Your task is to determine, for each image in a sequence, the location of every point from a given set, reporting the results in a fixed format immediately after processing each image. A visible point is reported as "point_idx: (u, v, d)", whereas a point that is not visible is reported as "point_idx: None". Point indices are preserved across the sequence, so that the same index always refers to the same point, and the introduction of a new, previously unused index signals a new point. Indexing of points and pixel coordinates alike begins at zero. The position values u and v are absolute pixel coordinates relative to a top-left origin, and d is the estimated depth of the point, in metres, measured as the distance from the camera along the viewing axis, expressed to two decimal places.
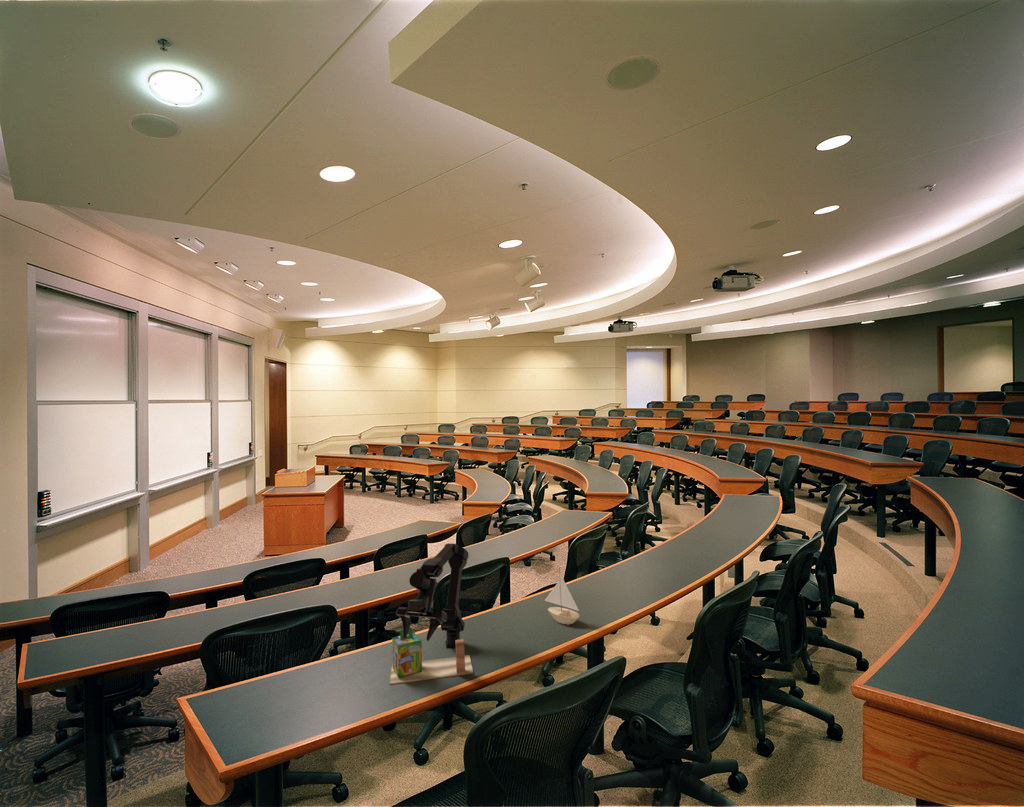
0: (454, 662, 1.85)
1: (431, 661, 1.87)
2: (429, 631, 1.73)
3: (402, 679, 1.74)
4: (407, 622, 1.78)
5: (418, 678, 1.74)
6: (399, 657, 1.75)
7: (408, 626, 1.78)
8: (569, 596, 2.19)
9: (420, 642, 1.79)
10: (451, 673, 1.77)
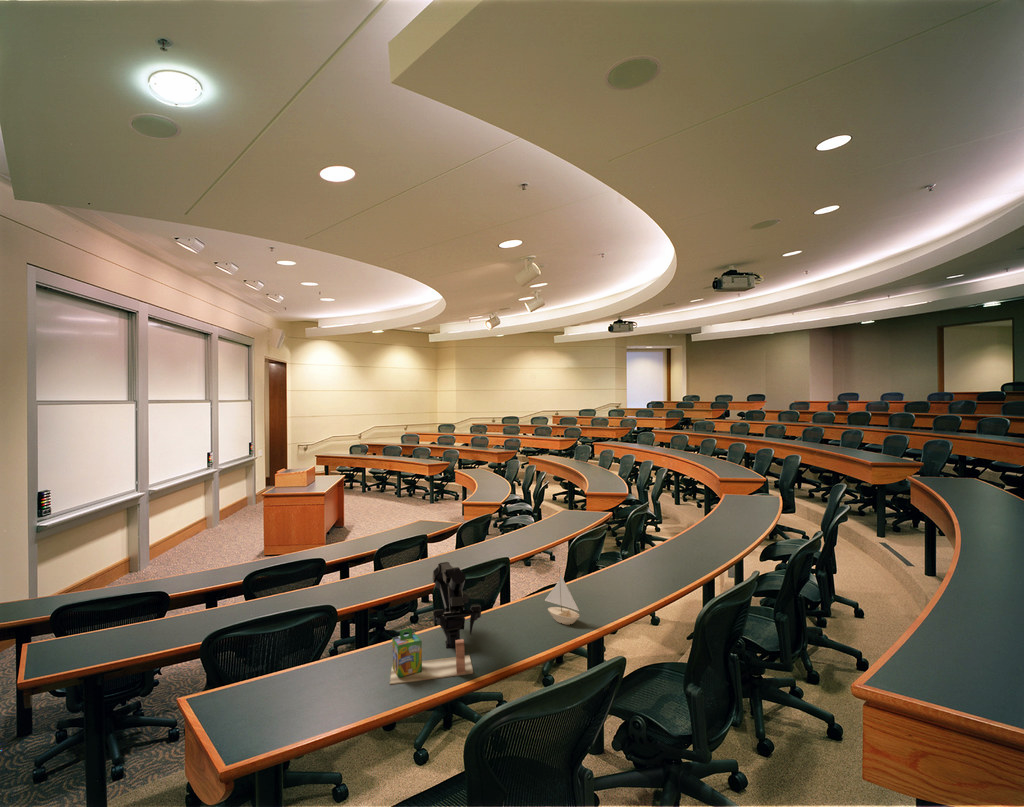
0: (454, 662, 1.85)
1: (431, 661, 1.87)
2: (471, 625, 1.86)
3: (402, 679, 1.74)
4: (445, 623, 1.87)
5: (418, 678, 1.74)
6: (399, 657, 1.75)
7: None
8: (569, 596, 2.19)
9: (420, 642, 1.79)
10: (451, 673, 1.77)
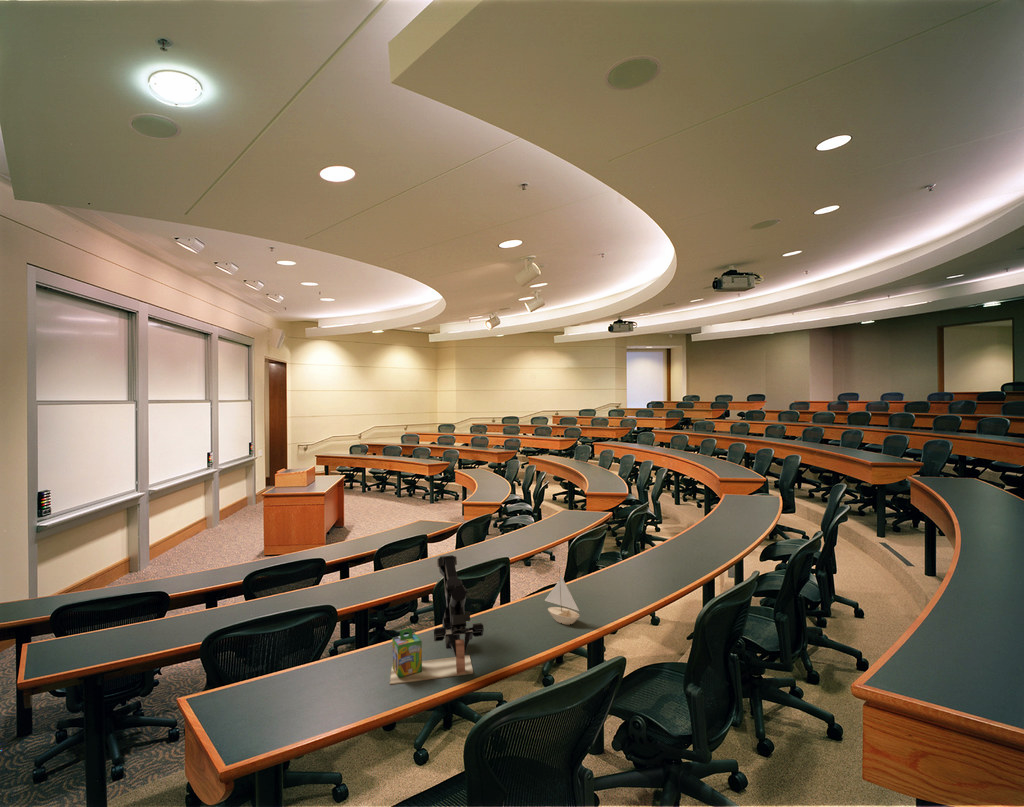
0: (454, 662, 1.85)
1: (431, 661, 1.87)
2: (465, 645, 1.79)
3: (402, 679, 1.74)
4: (454, 641, 1.80)
5: (418, 678, 1.74)
6: (399, 657, 1.75)
7: None
8: (569, 596, 2.19)
9: (420, 642, 1.79)
10: (451, 673, 1.77)
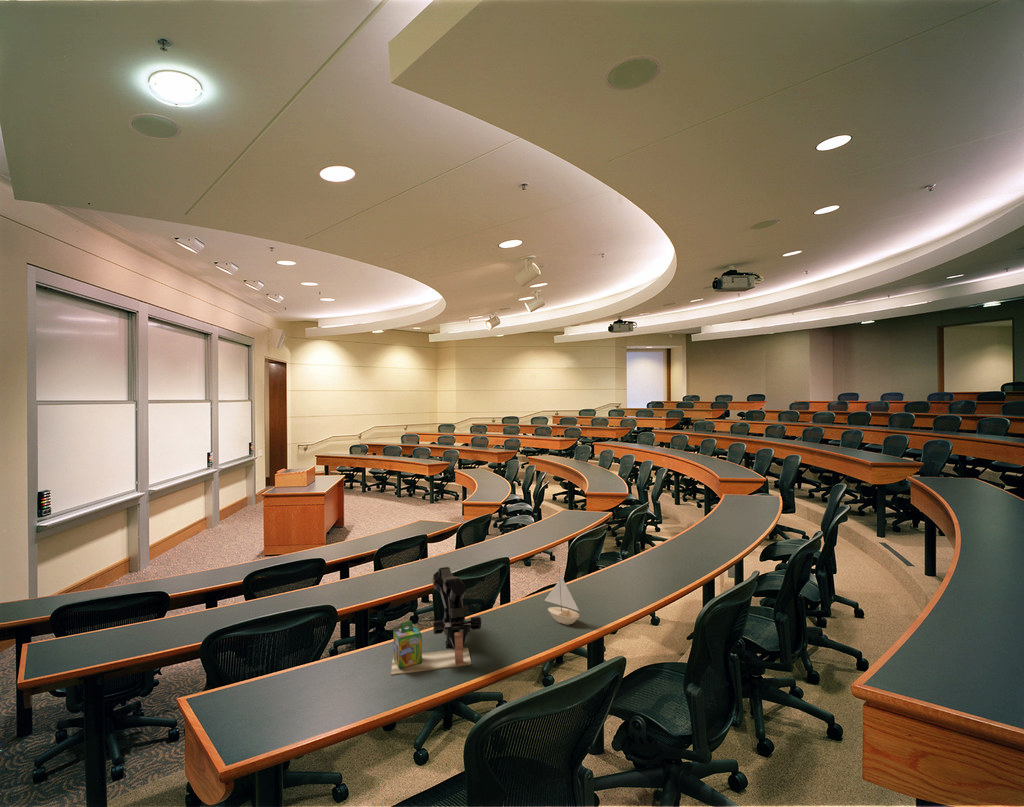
0: (453, 654, 1.92)
1: (431, 653, 1.94)
2: (464, 637, 1.86)
3: (402, 670, 1.81)
4: (452, 633, 1.87)
5: (418, 669, 1.81)
6: (400, 649, 1.82)
7: None
8: (569, 596, 2.19)
9: (420, 634, 1.86)
10: (450, 664, 1.84)
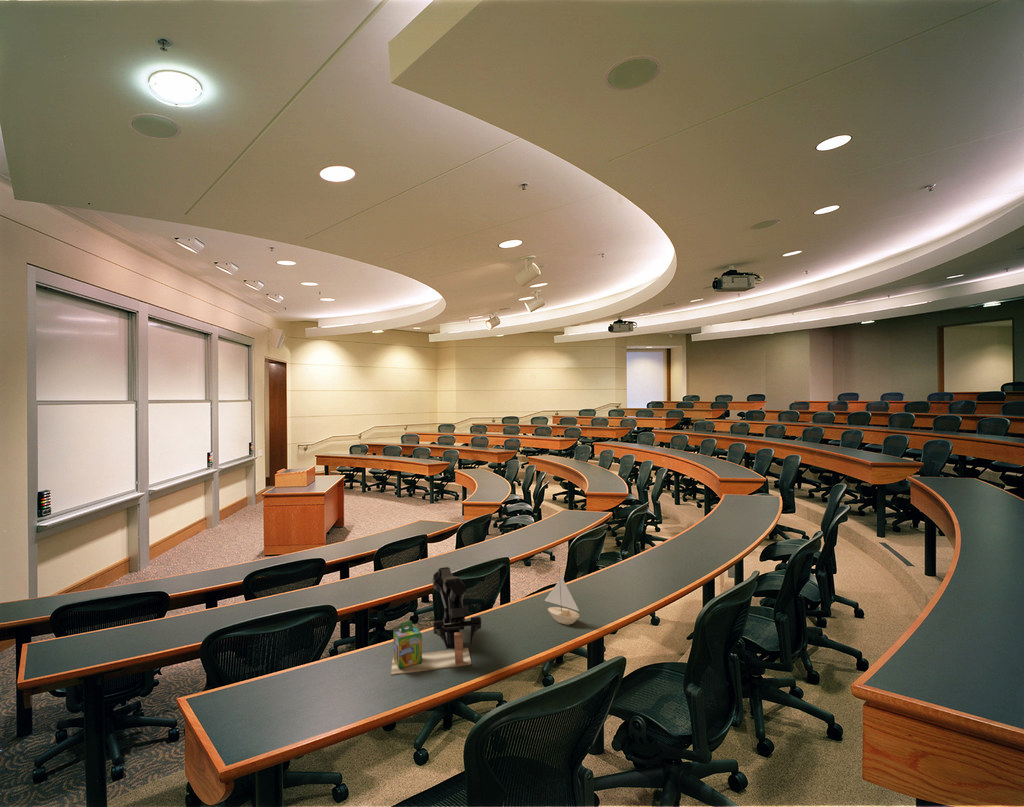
0: (453, 654, 1.92)
1: (431, 653, 1.94)
2: (471, 636, 1.86)
3: (402, 670, 1.81)
4: None
5: (418, 669, 1.81)
6: (400, 649, 1.82)
7: None
8: (569, 596, 2.19)
9: (420, 634, 1.86)
10: (450, 664, 1.84)
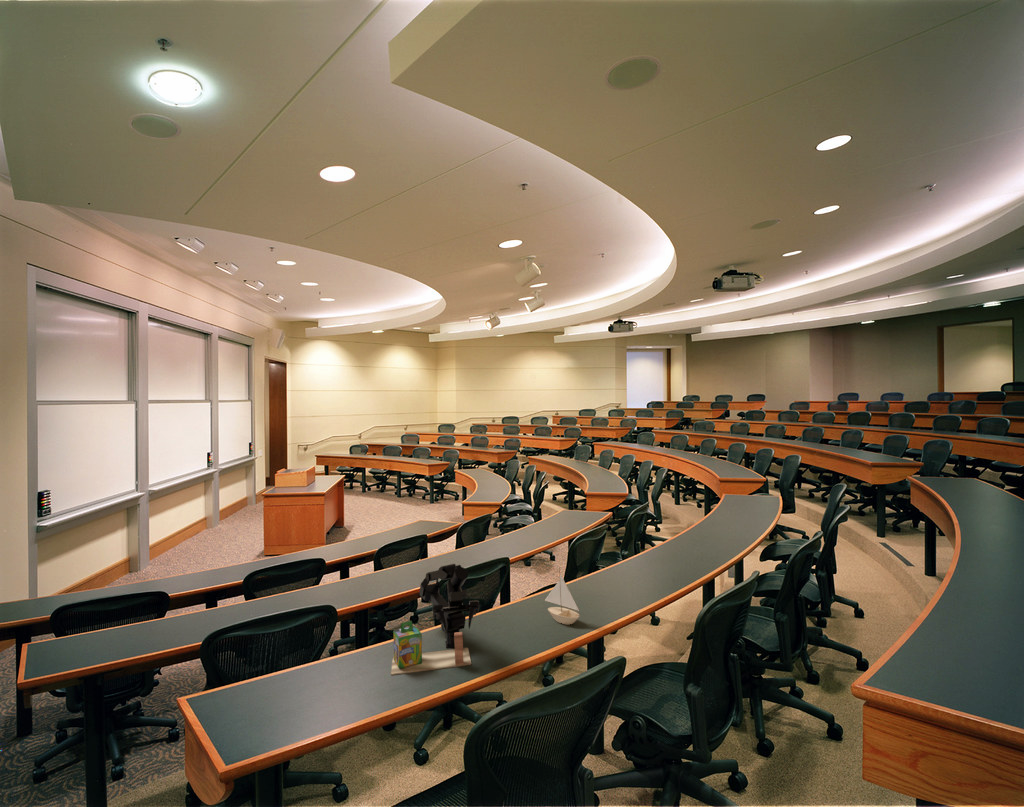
0: (453, 654, 1.92)
1: (431, 653, 1.94)
2: (470, 619, 1.91)
3: (402, 670, 1.81)
4: None
5: (418, 669, 1.81)
6: (400, 649, 1.82)
7: None
8: (569, 596, 2.19)
9: (420, 634, 1.86)
10: (450, 664, 1.84)
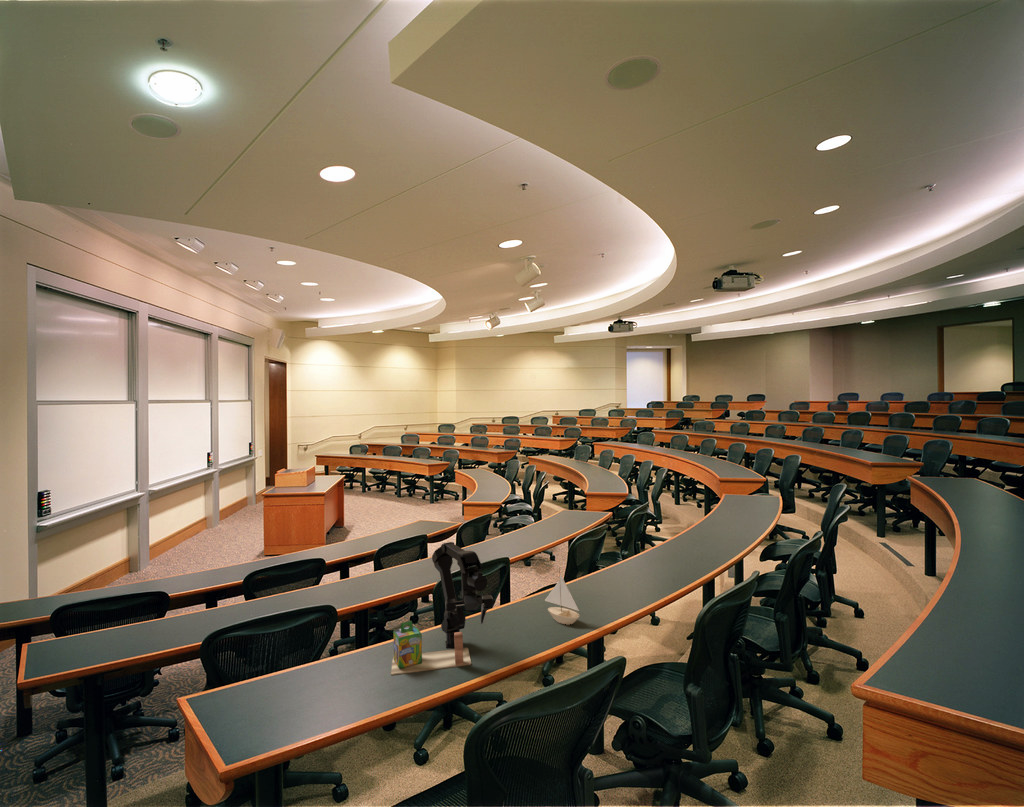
0: (453, 654, 1.92)
1: (431, 653, 1.94)
2: (483, 617, 1.90)
3: (402, 670, 1.81)
4: None
5: (418, 669, 1.81)
6: (400, 649, 1.82)
7: None
8: (569, 596, 2.19)
9: (420, 634, 1.86)
10: (450, 664, 1.84)
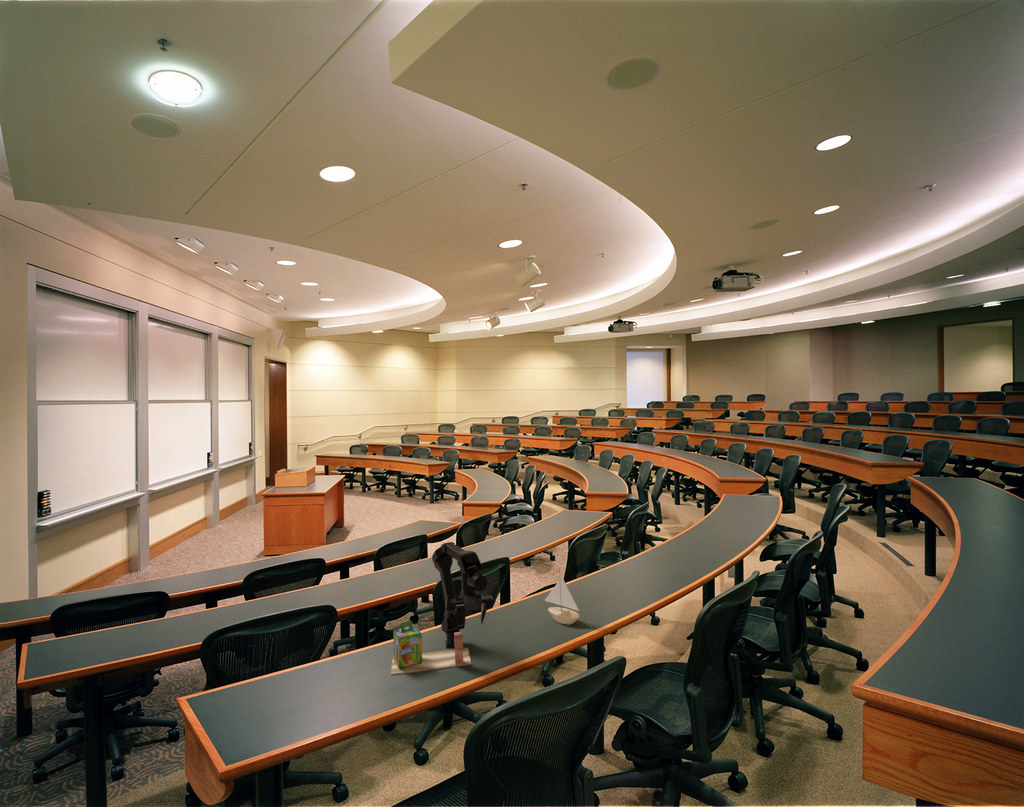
0: (453, 654, 1.92)
1: (431, 653, 1.94)
2: (483, 617, 1.90)
3: (402, 670, 1.81)
4: None
5: (418, 669, 1.81)
6: (400, 649, 1.82)
7: None
8: (569, 596, 2.19)
9: (420, 634, 1.86)
10: (450, 664, 1.84)
